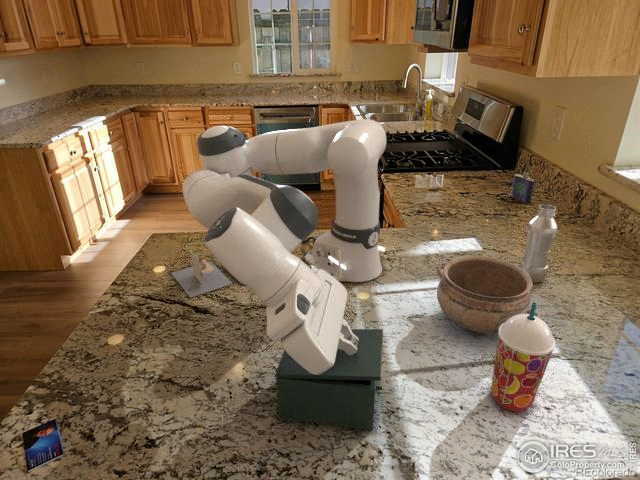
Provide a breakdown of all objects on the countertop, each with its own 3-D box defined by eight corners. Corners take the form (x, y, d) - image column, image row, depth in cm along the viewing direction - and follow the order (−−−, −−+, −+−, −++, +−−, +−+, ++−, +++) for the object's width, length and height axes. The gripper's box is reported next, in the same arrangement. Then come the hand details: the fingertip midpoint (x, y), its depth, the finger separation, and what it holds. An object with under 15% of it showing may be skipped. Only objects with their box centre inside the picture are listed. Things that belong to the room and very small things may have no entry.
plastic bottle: (548, 286, 107) (567, 213, 98) (519, 284, 108) (536, 211, 99) (541, 274, 112) (559, 203, 104) (514, 271, 114) (529, 201, 105)
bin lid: (383, 332, 74) (382, 329, 74) (380, 380, 64) (380, 376, 63) (292, 332, 77) (291, 328, 77) (276, 378, 67) (275, 374, 67)
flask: (508, 196, 166) (513, 169, 162) (514, 195, 167) (520, 169, 162) (526, 204, 158) (532, 176, 154) (532, 203, 159) (539, 175, 155)
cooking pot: (406, 310, 98) (410, 263, 93) (460, 285, 108) (467, 242, 103) (501, 373, 80) (513, 320, 74) (556, 336, 89) (570, 287, 84)
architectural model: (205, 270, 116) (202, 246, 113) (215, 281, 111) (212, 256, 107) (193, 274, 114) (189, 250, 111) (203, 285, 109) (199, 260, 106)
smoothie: (494, 375, 79) (515, 283, 71) (542, 396, 75) (570, 300, 66) (478, 402, 74) (497, 306, 65) (528, 427, 69) (557, 327, 60)
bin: (376, 378, 79) (378, 340, 75) (372, 430, 68) (375, 389, 65) (293, 369, 81) (292, 332, 77) (278, 418, 71) (275, 378, 67)
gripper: (295, 270, 77) (347, 319, 80) (263, 343, 59) (333, 404, 62) (319, 250, 74) (372, 302, 77) (293, 320, 56) (365, 384, 59)
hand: (355, 348), depth 69 cm, fingers closed
